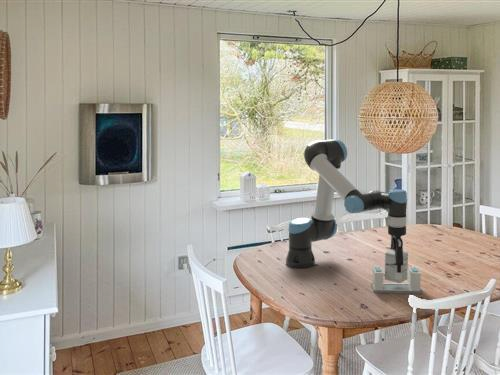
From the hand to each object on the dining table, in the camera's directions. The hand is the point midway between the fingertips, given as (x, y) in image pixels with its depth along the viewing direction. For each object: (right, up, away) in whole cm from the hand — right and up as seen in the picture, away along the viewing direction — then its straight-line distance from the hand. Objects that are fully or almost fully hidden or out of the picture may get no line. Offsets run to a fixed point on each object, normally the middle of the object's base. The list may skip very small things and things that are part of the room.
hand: (396, 274), depth 206 cm
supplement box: (0, -2, 0) cm, 2 cm away
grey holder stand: (0, -7, +1) cm, 7 cm away
